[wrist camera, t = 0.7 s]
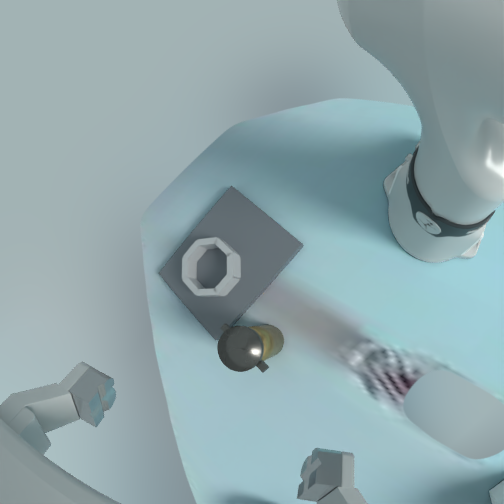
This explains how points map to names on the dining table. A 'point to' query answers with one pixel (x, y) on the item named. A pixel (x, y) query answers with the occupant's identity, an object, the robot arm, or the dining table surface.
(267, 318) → the dining table surface
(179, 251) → the socket base
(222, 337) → the cylinder
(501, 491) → the milk carton
